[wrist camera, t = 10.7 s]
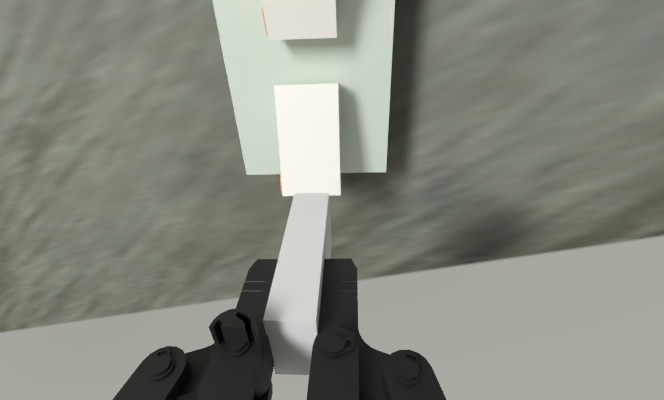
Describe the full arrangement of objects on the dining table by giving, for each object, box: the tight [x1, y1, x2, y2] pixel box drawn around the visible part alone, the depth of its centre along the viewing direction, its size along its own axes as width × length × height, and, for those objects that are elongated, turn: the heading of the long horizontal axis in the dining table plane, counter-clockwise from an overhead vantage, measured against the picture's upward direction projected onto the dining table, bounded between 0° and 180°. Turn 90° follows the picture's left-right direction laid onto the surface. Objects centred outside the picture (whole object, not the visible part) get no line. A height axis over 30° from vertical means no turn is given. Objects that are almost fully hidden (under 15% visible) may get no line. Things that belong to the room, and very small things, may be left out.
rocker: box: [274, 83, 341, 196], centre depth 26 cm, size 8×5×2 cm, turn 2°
